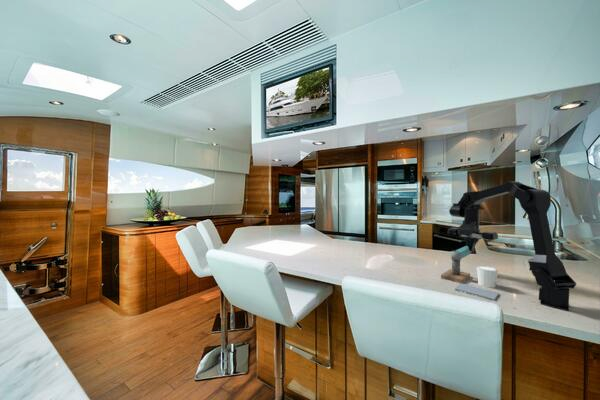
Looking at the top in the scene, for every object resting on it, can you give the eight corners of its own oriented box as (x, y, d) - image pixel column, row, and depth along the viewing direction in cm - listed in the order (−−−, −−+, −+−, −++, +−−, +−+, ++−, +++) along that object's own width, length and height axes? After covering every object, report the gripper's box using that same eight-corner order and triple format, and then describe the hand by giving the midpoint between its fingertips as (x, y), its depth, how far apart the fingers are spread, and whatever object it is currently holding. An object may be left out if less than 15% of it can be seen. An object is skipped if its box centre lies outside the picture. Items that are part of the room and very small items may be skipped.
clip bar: (459, 261, 101) (459, 253, 101) (450, 259, 104) (450, 252, 104) (472, 253, 114) (472, 247, 114) (464, 252, 117) (464, 245, 117)
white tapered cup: (501, 289, 92) (502, 271, 92) (481, 287, 93) (482, 270, 93) (491, 282, 99) (491, 266, 98) (472, 281, 100) (473, 265, 100)
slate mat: (498, 294, 87) (498, 292, 87) (494, 300, 82) (494, 299, 82) (460, 284, 96) (460, 283, 96) (454, 290, 91) (454, 288, 91)
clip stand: (469, 276, 105) (470, 259, 105) (462, 283, 97) (462, 264, 97) (449, 272, 111) (450, 255, 111) (441, 278, 103) (441, 260, 103)
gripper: (441, 217, 114) (441, 249, 115) (487, 222, 98) (486, 258, 99) (453, 216, 120) (453, 246, 120) (498, 220, 104) (498, 254, 104)
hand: (471, 251), depth 111 cm, fingers closed
